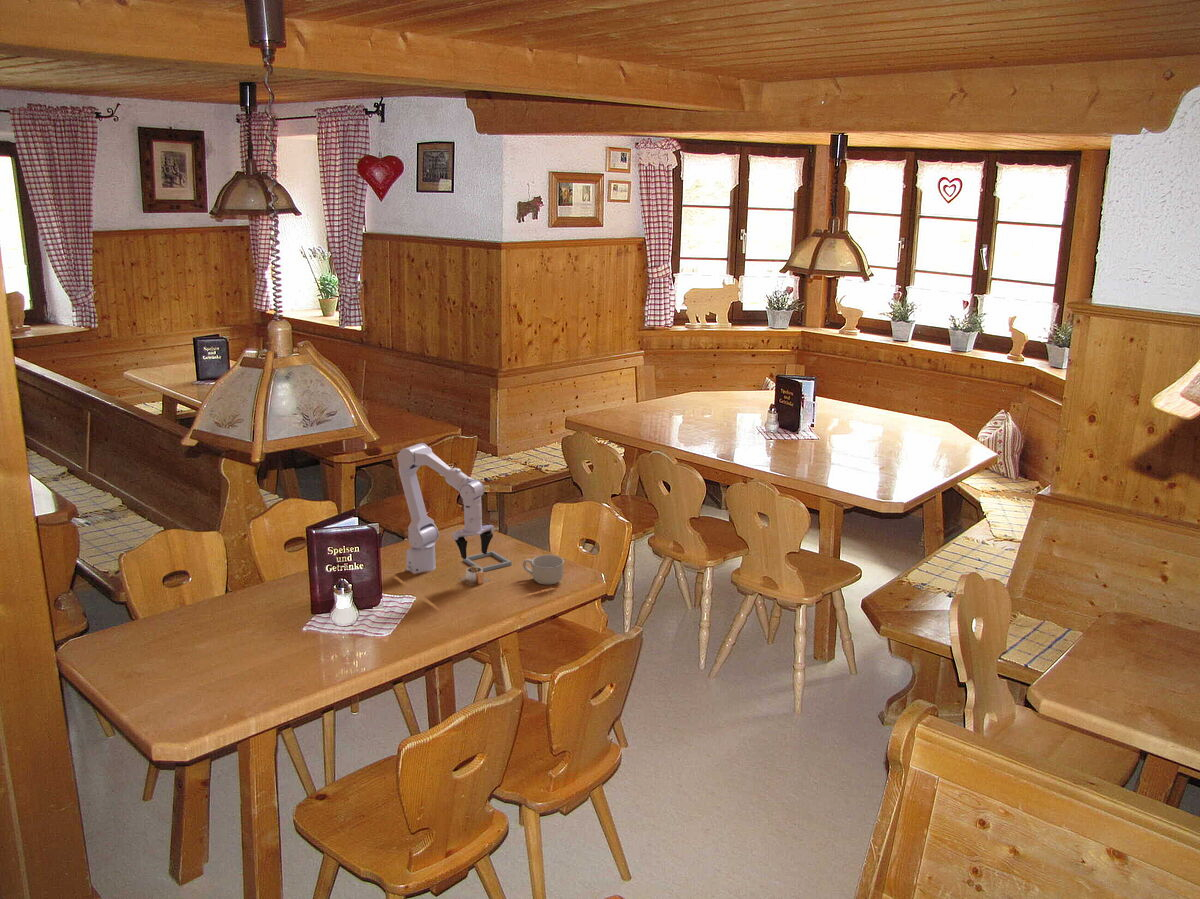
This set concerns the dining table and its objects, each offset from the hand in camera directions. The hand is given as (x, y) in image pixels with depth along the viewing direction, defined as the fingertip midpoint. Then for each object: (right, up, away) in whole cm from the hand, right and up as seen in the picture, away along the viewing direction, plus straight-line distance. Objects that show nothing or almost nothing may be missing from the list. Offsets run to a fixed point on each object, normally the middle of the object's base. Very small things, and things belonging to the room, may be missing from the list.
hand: (474, 555), depth 328 cm
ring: (0, -8, +2) cm, 8 cm away
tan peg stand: (0, -9, +2) cm, 9 cm away
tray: (+2, -5, +17) cm, 18 cm away
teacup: (+23, -9, +3) cm, 25 cm away
